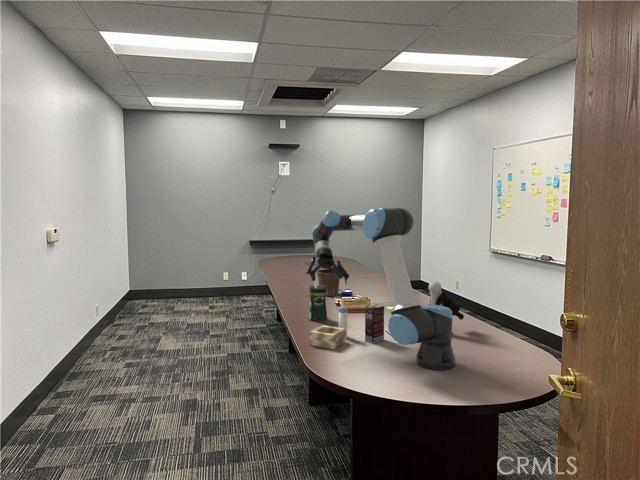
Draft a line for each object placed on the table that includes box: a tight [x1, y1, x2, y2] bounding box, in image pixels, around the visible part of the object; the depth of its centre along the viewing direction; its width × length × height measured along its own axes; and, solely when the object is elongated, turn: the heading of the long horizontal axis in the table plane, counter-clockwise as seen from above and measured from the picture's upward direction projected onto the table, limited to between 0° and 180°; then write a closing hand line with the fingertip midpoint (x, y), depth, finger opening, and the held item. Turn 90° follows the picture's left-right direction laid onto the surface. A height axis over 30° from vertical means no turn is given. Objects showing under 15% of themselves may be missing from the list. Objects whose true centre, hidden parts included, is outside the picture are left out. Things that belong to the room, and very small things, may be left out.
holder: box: [308, 324, 346, 350], centre depth 209 cm, size 12×12×6 cm
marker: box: [338, 306, 348, 339], centre depth 218 cm, size 4×4×14 cm
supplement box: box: [364, 304, 385, 344], centre depth 213 cm, size 9×5×16 cm, turn 134°
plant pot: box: [316, 268, 340, 297], centre depth 311 cm, size 16×16×16 cm
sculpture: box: [428, 281, 465, 321], centre depth 228 cm, size 15×24×25 cm, turn 110°
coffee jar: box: [308, 284, 328, 322], centre depth 249 cm, size 10×8×19 cm
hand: (331, 288), depth 205 cm, fingers open, 13 cm apart
